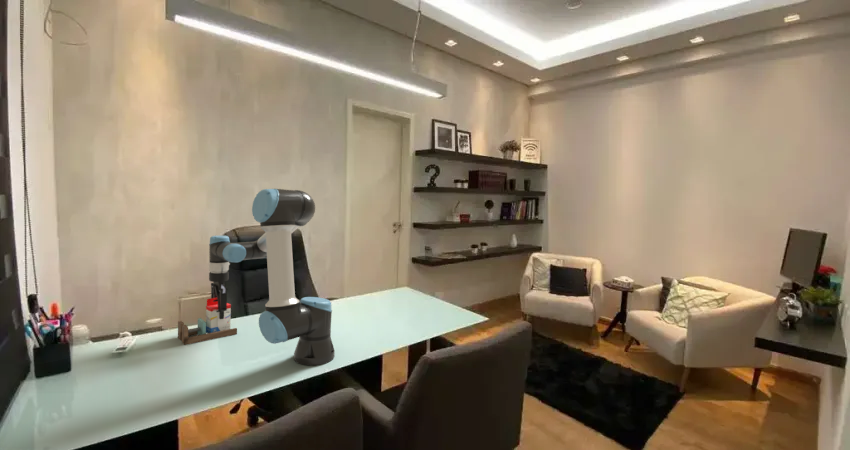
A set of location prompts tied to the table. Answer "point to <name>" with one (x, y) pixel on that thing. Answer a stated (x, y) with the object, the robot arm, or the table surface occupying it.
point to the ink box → (212, 316)
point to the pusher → (199, 327)
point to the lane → (186, 340)
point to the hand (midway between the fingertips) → (218, 323)
